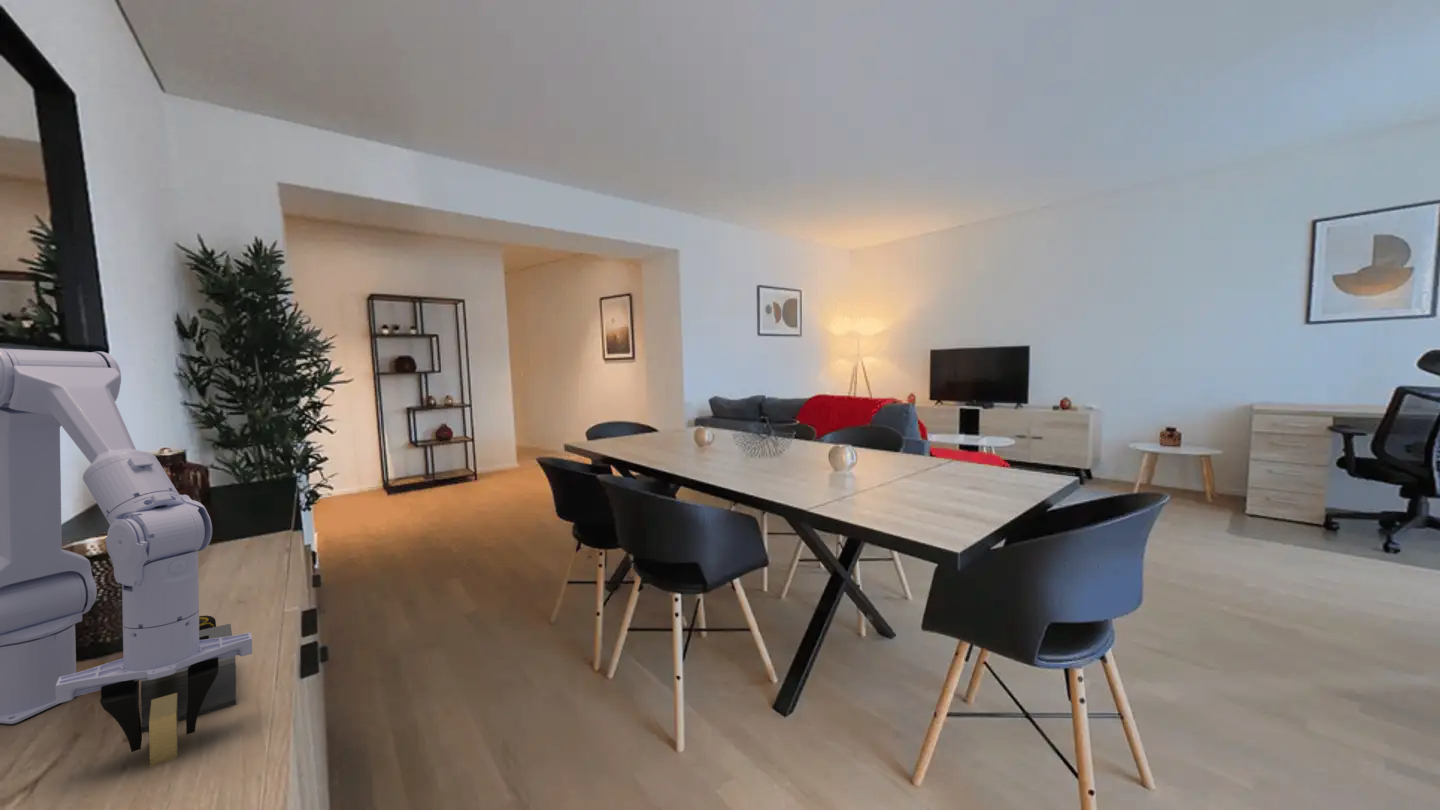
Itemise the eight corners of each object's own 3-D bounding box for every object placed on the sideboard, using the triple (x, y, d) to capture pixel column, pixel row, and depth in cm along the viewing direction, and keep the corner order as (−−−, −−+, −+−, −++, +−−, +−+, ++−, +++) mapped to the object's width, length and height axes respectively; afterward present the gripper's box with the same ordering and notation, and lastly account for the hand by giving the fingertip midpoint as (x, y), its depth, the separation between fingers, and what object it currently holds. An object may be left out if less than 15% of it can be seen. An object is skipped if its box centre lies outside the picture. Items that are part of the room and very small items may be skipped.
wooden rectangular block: (152, 743, 59) (151, 699, 59) (177, 735, 61) (177, 692, 61) (149, 767, 56) (149, 721, 56) (177, 758, 57) (176, 713, 57)
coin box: (147, 686, 69) (146, 642, 69) (230, 664, 75) (230, 623, 75) (141, 732, 61) (140, 681, 61) (236, 704, 67) (235, 657, 66)
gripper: (48, 654, 50) (52, 793, 50) (254, 610, 60) (254, 726, 61) (61, 626, 55) (64, 754, 55) (249, 590, 65) (250, 698, 66)
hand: (164, 737), depth 58 cm, fingers open, 3 cm apart
